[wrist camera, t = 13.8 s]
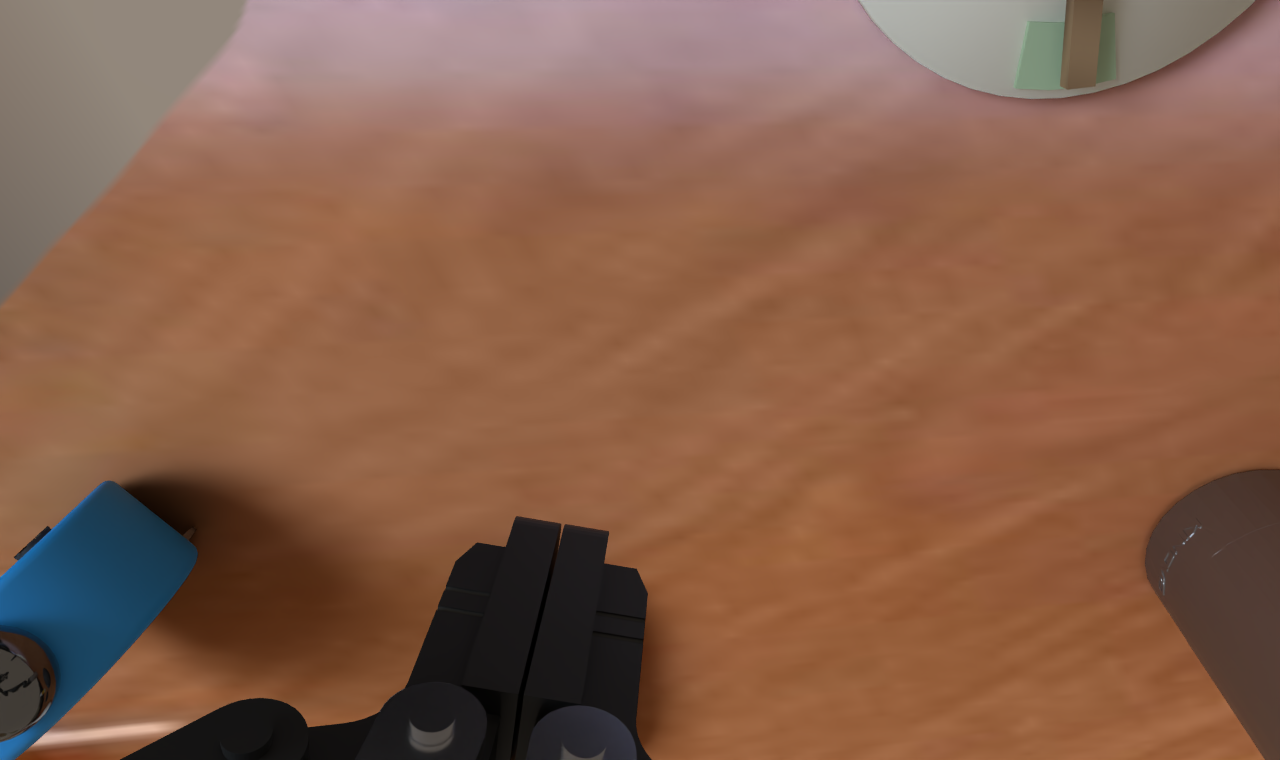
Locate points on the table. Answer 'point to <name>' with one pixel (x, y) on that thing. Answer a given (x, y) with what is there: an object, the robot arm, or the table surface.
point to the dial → (1081, 43)
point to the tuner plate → (1045, 39)
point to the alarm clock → (81, 606)
